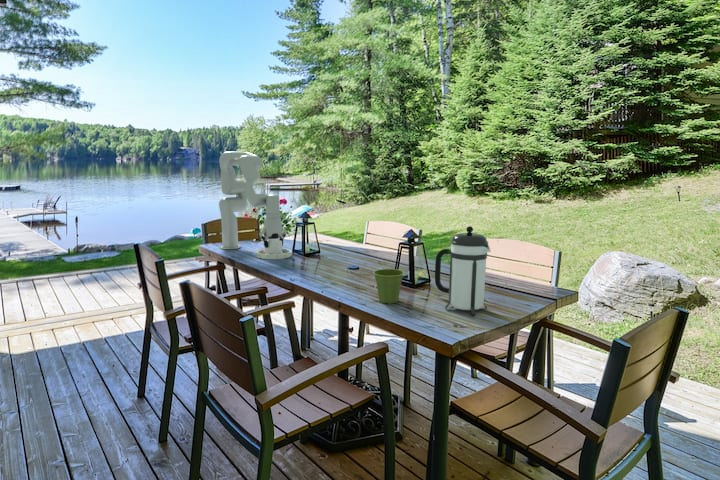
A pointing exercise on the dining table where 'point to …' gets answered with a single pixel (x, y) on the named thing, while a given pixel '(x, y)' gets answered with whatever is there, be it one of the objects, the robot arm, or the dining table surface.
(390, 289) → the plant pot
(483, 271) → the coffee press
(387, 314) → the dining table surface
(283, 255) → the tray
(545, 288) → the dining table surface
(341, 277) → the dining table surface
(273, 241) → the medicine bottle
